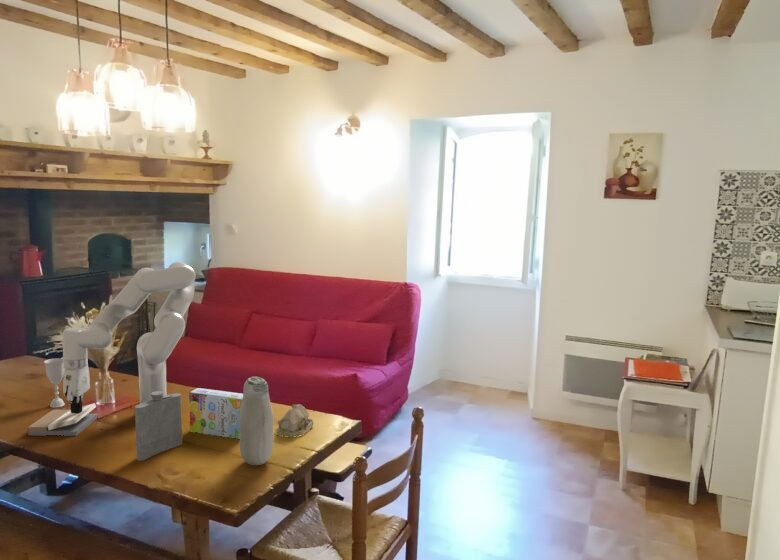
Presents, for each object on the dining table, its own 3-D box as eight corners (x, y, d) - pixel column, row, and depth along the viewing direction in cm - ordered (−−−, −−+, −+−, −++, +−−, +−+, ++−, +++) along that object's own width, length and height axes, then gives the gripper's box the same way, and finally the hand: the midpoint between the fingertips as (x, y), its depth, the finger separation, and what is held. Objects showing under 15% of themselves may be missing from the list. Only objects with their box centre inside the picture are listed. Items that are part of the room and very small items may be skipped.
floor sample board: (97, 417, 207) (97, 409, 206) (76, 435, 191) (75, 427, 191) (53, 417, 206) (53, 409, 206) (28, 435, 190) (27, 427, 190)
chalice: (71, 402, 221) (69, 358, 218) (60, 408, 214) (57, 364, 211) (54, 401, 221) (52, 357, 219) (42, 407, 215) (39, 362, 212)
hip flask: (140, 461, 174) (138, 401, 171) (133, 458, 177) (130, 398, 174) (184, 444, 187) (182, 387, 185) (176, 440, 190) (175, 384, 187)
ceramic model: (294, 441, 193) (294, 414, 191) (269, 433, 198) (269, 407, 196) (318, 427, 205) (318, 401, 203) (294, 420, 210) (294, 395, 209)
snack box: (250, 434, 197) (250, 393, 195) (241, 440, 191) (241, 399, 189) (198, 426, 202) (197, 386, 200) (188, 432, 197) (187, 391, 195)
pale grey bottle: (279, 462, 177) (279, 378, 172) (251, 473, 169) (251, 385, 165) (260, 452, 183) (260, 370, 179) (233, 462, 176) (232, 377, 171)
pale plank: (96, 406, 206) (94, 403, 206) (75, 423, 191) (74, 419, 191) (71, 413, 206) (69, 409, 205) (48, 430, 191) (47, 426, 191)
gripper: (75, 369, 188) (76, 420, 190) (96, 357, 203) (97, 405, 205) (53, 368, 187) (54, 420, 190) (75, 356, 202) (76, 404, 205)
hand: (76, 412), depth 198 cm, fingers closed
